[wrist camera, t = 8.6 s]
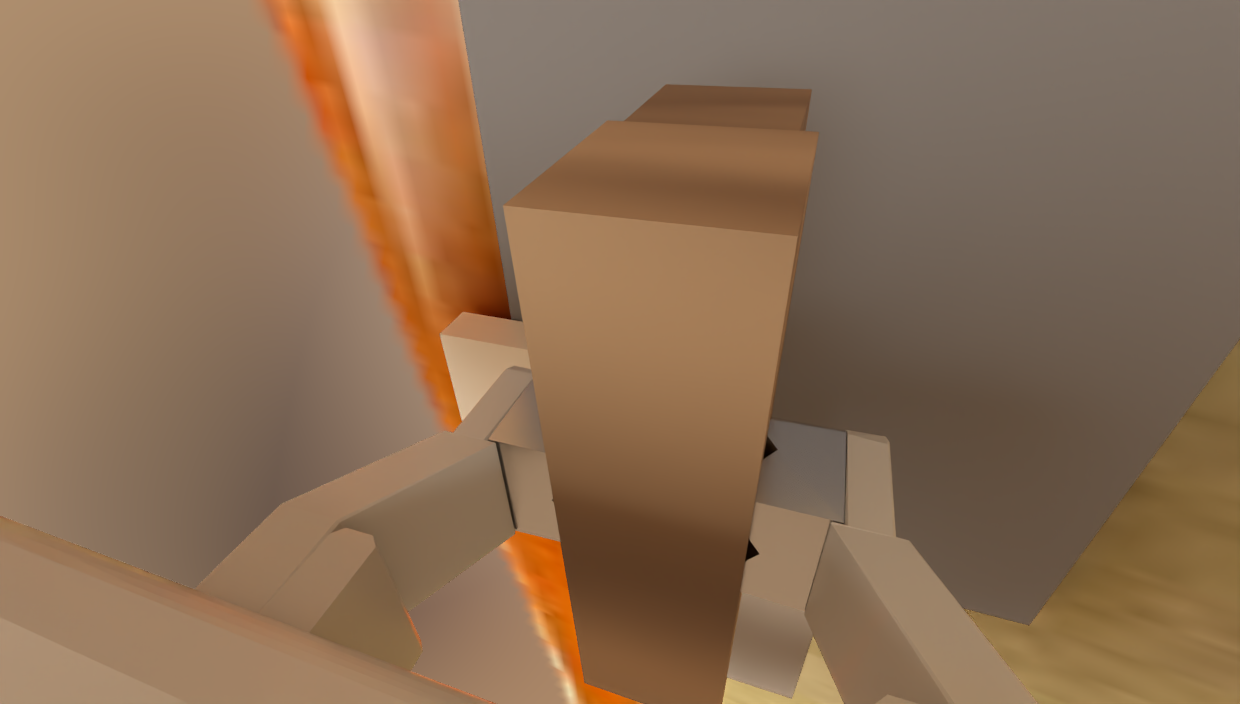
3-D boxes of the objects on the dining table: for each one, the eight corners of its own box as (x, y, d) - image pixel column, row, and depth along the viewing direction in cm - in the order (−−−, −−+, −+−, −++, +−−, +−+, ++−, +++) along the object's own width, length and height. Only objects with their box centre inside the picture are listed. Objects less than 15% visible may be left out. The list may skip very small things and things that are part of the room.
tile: (664, 343, 17) (464, 310, 19) (650, 372, 16) (439, 333, 18) (661, 478, 21) (492, 438, 23) (650, 509, 20) (473, 465, 22)
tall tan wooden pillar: (538, 79, 9) (330, 187, 5) (982, 95, 7) (1091, 266, 4) (600, 616, 18) (540, 776, 15) (794, 676, 16) (775, 873, 13)
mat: (381, -581, 9) (358, -606, 9) (2346, -1265, 4) (2519, -1403, 4) (547, 487, 24) (541, 498, 24) (1025, 609, 19) (1029, 625, 19)
